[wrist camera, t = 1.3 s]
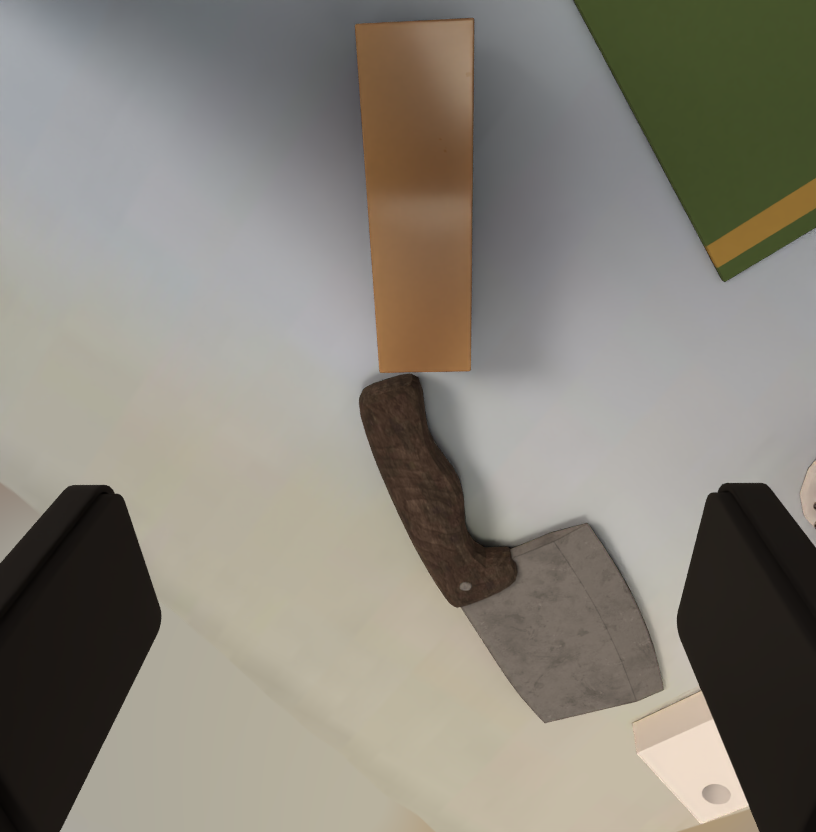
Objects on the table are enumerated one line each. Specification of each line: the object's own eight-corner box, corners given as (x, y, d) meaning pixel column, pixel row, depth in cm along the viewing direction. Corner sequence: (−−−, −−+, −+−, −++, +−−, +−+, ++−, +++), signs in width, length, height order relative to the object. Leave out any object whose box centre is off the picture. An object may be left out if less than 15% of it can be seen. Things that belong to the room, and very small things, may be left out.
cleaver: (320, 403, 32) (313, 424, 30) (492, 319, 29) (495, 337, 28) (542, 717, 45) (546, 745, 43) (676, 679, 42) (687, 707, 40)
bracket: (800, 631, 40) (851, 721, 33) (865, 707, 41) (928, 811, 34) (630, 713, 45) (644, 806, 38) (690, 779, 46) (714, 883, 39)
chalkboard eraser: (385, 340, 30) (379, 373, 27) (365, 28, 24) (354, 23, 21) (467, 339, 30) (470, 371, 27) (469, 22, 24) (474, 17, 20)
